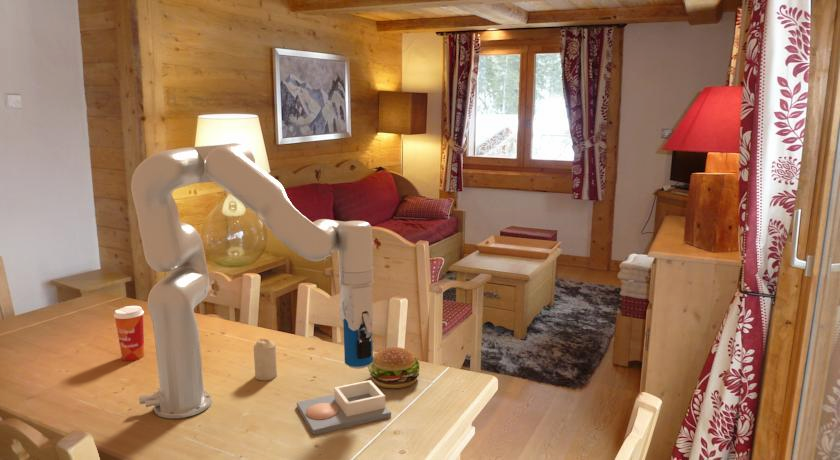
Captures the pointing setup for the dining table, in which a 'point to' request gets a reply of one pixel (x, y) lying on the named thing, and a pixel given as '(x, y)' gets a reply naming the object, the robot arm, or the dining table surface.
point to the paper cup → (130, 332)
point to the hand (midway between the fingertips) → (358, 351)
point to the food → (394, 368)
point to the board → (345, 407)
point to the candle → (265, 360)
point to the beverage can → (354, 348)
